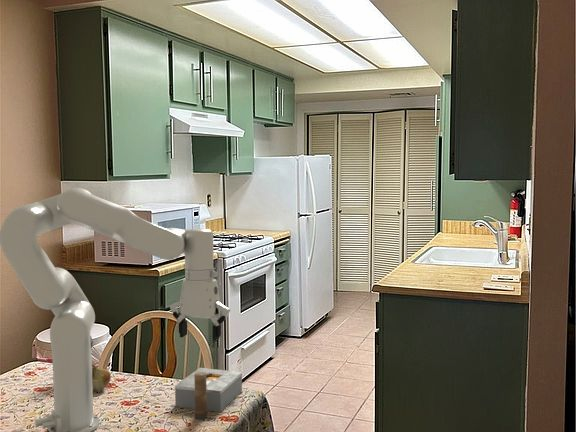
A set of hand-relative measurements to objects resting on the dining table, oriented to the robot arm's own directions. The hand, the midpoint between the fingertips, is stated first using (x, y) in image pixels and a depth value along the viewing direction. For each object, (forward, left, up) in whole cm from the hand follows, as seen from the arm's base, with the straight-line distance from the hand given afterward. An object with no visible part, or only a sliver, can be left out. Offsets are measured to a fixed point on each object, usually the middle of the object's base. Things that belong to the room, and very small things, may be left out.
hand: (199, 337), depth 158 cm
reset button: (+10, +12, -21) cm, 26 cm away
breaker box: (+8, +10, -22) cm, 26 cm away
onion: (-17, +36, -22) cm, 46 cm away
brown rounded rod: (0, 0, -22) cm, 22 cm away
